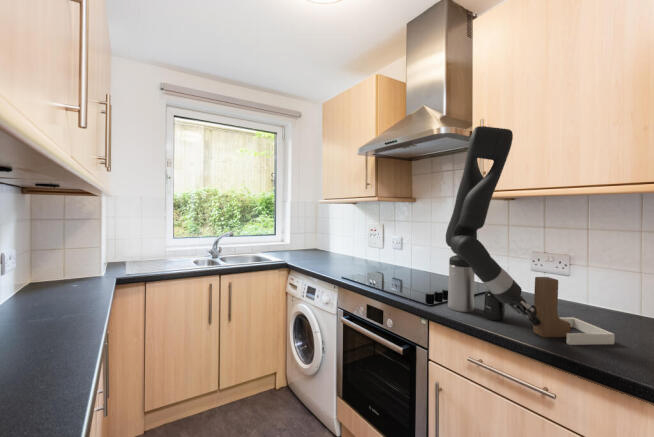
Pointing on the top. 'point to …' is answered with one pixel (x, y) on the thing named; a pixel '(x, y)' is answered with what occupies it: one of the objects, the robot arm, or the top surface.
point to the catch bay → (587, 333)
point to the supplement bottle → (493, 308)
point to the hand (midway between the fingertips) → (536, 323)
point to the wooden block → (548, 309)
